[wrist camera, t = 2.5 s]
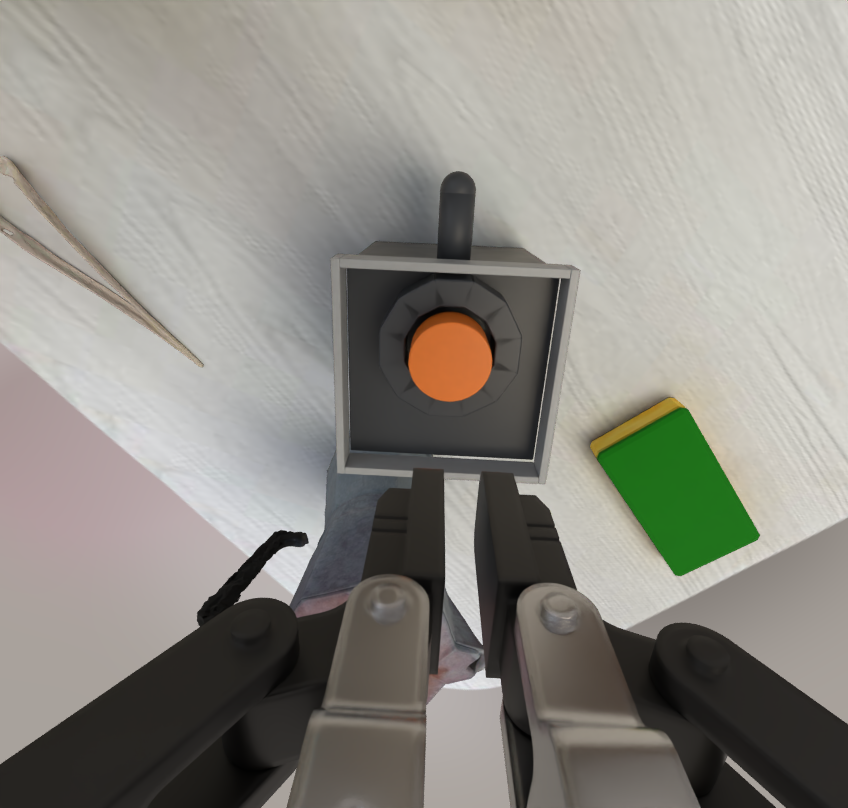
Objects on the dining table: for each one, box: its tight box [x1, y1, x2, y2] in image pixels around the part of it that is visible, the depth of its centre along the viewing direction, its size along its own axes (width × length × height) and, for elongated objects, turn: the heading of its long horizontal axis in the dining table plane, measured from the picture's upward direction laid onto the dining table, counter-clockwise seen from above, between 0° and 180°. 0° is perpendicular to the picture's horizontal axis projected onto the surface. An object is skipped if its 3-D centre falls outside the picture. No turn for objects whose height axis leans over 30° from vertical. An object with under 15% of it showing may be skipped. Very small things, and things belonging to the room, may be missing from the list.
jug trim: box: [331, 171, 580, 484], centre depth 27 cm, size 11×14×10 cm
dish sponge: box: [590, 398, 760, 576], centre depth 39 cm, size 7×14×2 cm, turn 36°
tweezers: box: [0, 156, 204, 367], centre depth 35 cm, size 17×5×2 cm, turn 43°
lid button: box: [408, 312, 492, 402], centre depth 22 cm, size 4×4×2 cm
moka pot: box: [197, 437, 485, 705], centre depth 31 cm, size 10×15×20 cm, turn 87°
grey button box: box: [347, 241, 560, 460], centre depth 29 cm, size 10×10×13 cm
